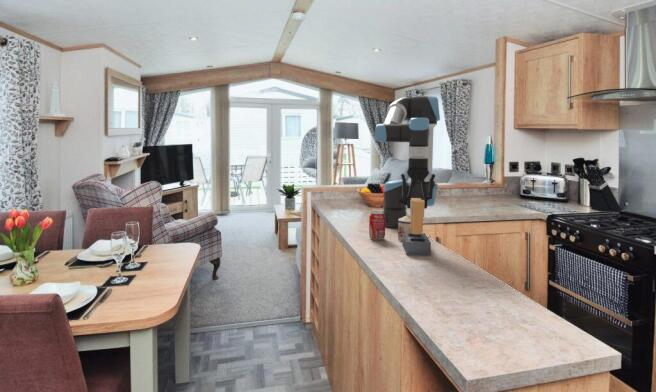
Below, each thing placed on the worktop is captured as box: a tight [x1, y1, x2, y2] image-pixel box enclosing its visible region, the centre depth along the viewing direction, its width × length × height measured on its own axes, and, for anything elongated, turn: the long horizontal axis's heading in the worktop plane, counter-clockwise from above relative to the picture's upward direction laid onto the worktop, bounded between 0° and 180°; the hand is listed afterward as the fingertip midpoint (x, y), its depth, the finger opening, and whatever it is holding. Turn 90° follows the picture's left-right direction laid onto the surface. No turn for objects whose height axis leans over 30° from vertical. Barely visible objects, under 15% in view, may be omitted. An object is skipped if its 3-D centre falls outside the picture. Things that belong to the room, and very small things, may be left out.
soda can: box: [368, 211, 386, 241], centre depth 196 cm, size 7×7×12 cm
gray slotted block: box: [401, 233, 432, 257], centre depth 177 cm, size 9×17×5 cm, turn 175°
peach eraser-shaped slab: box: [410, 198, 425, 234], centre depth 176 cm, size 4×12×12 cm, turn 176°
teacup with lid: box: [397, 213, 413, 242], centre depth 193 cm, size 12×9×12 cm
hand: (416, 216), depth 176 cm, fingers closed on peach eraser-shaped slab, 4 cm apart
